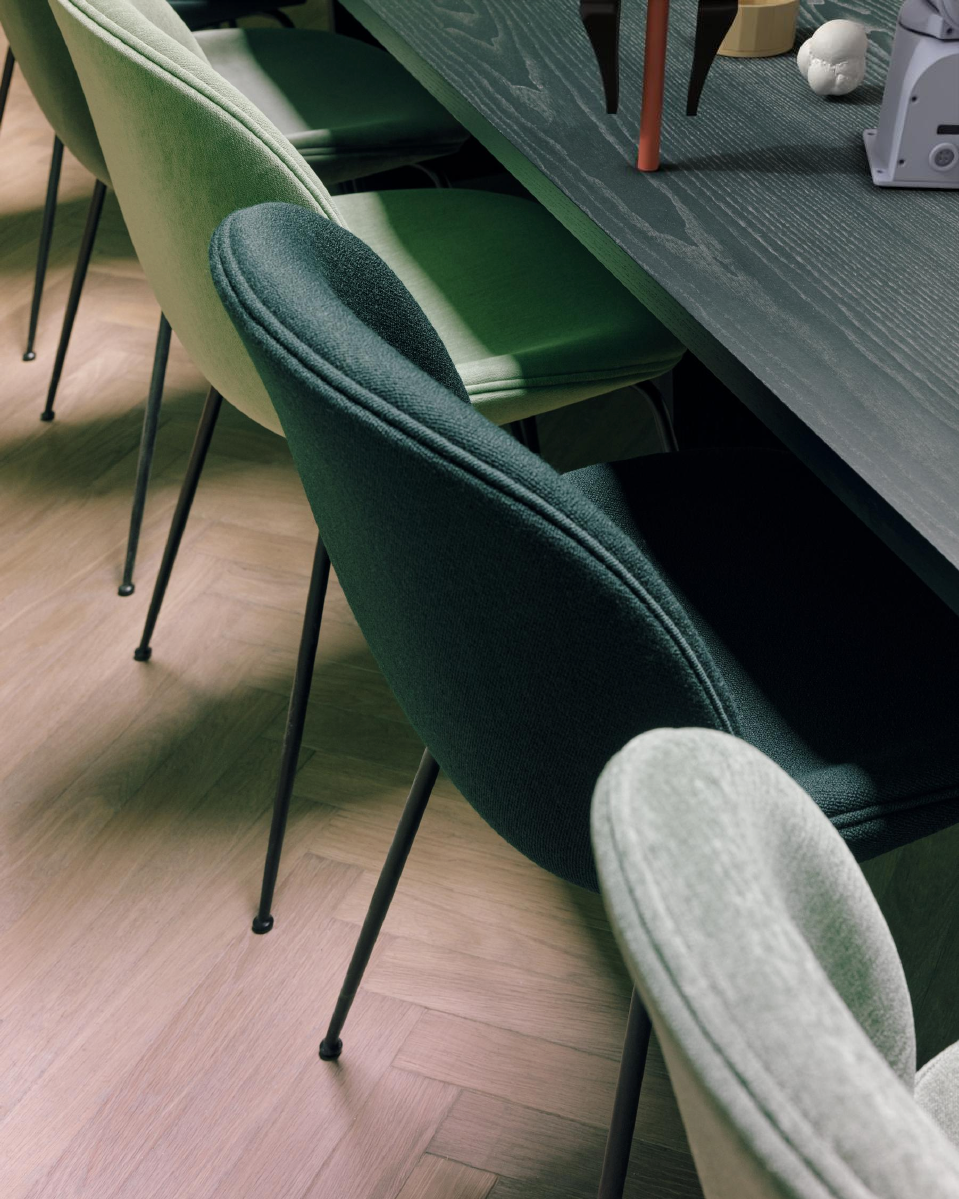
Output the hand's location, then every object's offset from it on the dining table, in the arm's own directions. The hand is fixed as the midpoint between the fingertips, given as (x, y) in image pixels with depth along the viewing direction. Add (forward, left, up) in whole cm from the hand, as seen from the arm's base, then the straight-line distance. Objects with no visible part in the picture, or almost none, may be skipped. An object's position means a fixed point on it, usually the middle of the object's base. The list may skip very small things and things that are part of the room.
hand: (651, 110), depth 81 cm
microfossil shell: (+16, -13, -4) cm, 21 cm away
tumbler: (+29, -7, -4) cm, 30 cm away
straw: (0, 0, -4) cm, 4 cm away
